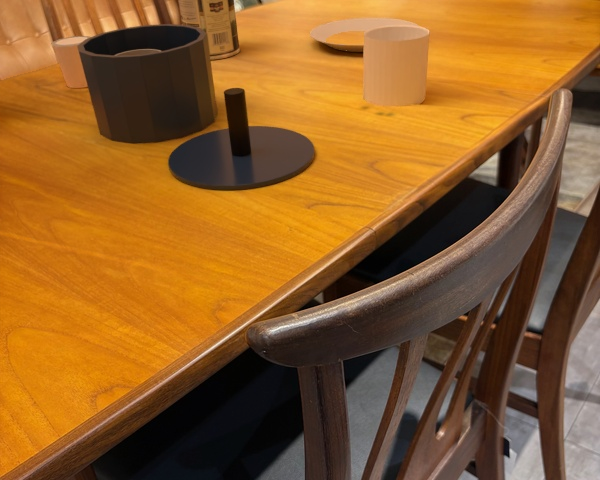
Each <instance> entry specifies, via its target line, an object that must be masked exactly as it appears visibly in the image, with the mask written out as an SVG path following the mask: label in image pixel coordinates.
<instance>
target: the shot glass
mask: <svg viewBox="0 0 600 480" xmlns="http://www.w3.org/2000/svg"><path fill="white" fill-rule="evenodd" d="M90 37H91V36H89V35H75V36H68V37H63V38H60V39H56V40H54V41H52V42H51V44H50V45H51V47H52V49H53V52H54V55H55V57H56V60H57V63H58V66H59V68H60V71H61V73H62V76H63V79H64V82H65V84H66V87H67V88H70V89H84V88H88V86H87V82H86V78H85V74H84V71H83V67H82V63H81V59H80V55H79V51H78V47H77V46H78V45H79V44H80V43H82V42H83V41H84V40H85V39H88V38H90Z"/></svg>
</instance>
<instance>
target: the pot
mask: <svg viewBox="0 0 600 480" xmlns="http://www.w3.org/2000/svg"><path fill="white" fill-rule="evenodd" d="M89 37H90V38H88V39H85V40H84V41H83V42H82V43H80V44H79V45H78V46H77V47H78V51H79V55H80V59H81V63H82V67H83V71H84V74H85V78H86V82H87V86H88V87H87V89H88V94H89V97H90V102H91V105H92V110H93V113H94V117H95V120H96V125H97V128H98V131H99V135H100V136H101V137H103V138H105V139H107V140H110V141H111V142H118V143H126V144H133V145H135V144H156V143H162V142H168V141H173V140H179V139H183V138H185V137H189V136H192V135H194V134H197V133H199V132H200V133H201V132H202V131H204V130H206V129H207V128H208V127H210V126H212V125H213V124H214V123H216V119H217V117H218V115H219V113H218V106H217V98H216V91H215V84H214V77H213V70H212V68H213V67H212V60H210V53H209V46H208V39H207V33H206V32H205V31H203V30H202V29H201V28H198V27H193V26H189V25H182V24H174V23H171V24H170V23H163V24H162V23H160V24H145V25H138V26H136V25H135V26H129V27H122V28H118V29H113V30H109V31H105V32H100V33H99V34H95V35H93V36H89ZM139 49H155V50H161V51H160V52H153V53H147V54H139V55H119V56H114V55H116V54H119V53H122V52H126V51H131V50H139Z"/></svg>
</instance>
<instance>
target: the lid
mask: <svg viewBox="0 0 600 480" xmlns="http://www.w3.org/2000/svg"><path fill="white" fill-rule="evenodd" d="M245 90H246V89H244V88H242V87H232V88H228V89H225V90H224V91H223V97H224V104H225V113H226V120H227V128H221V129H217V130H213V131H209V132H205V133H203V134H199V135H197V136H194V137H191V138H190V139H188V140H185V141H184V142H183V143H181V144H179V145H178V146H177V147H176V148H174V150H173V151H172V152H171V153H170V155H169V157H168V161H167V165H168V170H169V172H170V173H171V175H172V176H173V177H174V178H175V179H176V180H178V181H180V182H181V183H184V184H186V185H189V186H192V187H195V188H201V189H206V190H214V191H215V190H216V191H239V190H251V189H257V188H263V187H267V186H271V185H275V184H278V183H281V182H284V181H286V180H290V179H292V178H294V177H295V176H297V175H299V174H301V173H302V172H304V171H305V170H306V169H307V168H309V166H311V164H312V163H313V161H314V160H315V156H316V155H315V154H316V153H315V152H316V150H315V146H314V143H313V142H312V141H311V139H309V138H308V137H307V136H305V135H304V134H303V133H300V132H298V131H296V130H295V131H294V130H291V129H287V128H283V127H277V126H268V125H267V126H266V125H249V116H248V108H247V98H246V91H245Z"/></svg>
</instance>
